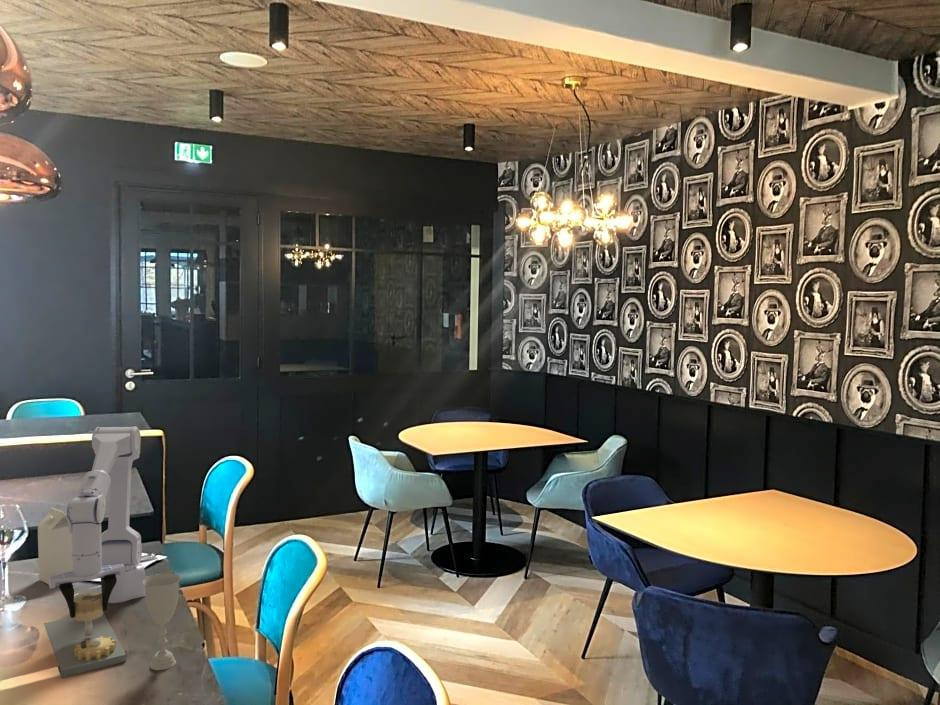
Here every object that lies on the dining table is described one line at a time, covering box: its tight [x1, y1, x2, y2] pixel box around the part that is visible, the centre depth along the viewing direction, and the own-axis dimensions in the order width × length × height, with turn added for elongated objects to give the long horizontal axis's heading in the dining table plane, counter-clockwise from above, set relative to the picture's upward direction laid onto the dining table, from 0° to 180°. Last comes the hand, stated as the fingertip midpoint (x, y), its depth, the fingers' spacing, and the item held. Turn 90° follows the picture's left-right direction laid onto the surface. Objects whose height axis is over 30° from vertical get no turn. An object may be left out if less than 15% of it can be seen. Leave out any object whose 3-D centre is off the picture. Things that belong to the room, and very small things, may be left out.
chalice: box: [143, 573, 182, 671], centre depth 154 cm, size 7×7×18 cm
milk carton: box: [37, 506, 72, 585], centre depth 198 cm, size 7×7×19 cm
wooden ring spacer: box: [74, 592, 104, 621], centre depth 162 cm, size 6×6×4 cm
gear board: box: [44, 612, 127, 679], centre depth 162 cm, size 12×26×6 cm, turn 36°
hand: (88, 612), depth 162 cm, fingers closed on wooden ring spacer, 6 cm apart
